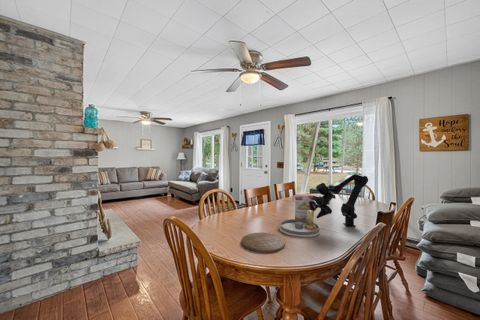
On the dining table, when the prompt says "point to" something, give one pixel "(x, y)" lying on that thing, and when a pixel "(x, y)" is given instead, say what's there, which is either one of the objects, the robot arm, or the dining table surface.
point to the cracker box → (302, 206)
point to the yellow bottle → (310, 220)
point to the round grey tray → (298, 228)
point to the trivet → (263, 242)
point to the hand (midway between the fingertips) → (312, 216)
